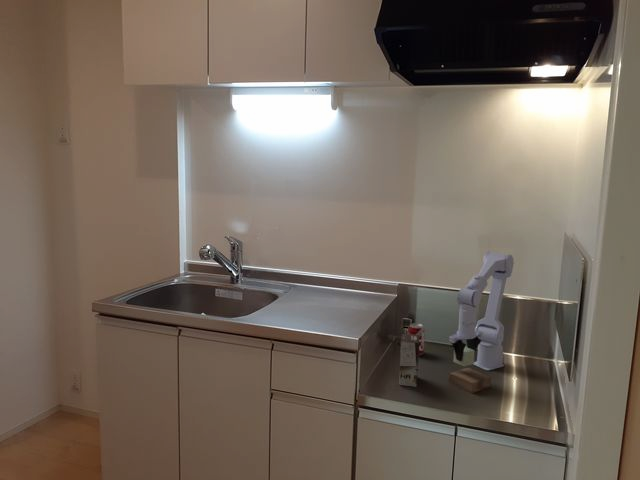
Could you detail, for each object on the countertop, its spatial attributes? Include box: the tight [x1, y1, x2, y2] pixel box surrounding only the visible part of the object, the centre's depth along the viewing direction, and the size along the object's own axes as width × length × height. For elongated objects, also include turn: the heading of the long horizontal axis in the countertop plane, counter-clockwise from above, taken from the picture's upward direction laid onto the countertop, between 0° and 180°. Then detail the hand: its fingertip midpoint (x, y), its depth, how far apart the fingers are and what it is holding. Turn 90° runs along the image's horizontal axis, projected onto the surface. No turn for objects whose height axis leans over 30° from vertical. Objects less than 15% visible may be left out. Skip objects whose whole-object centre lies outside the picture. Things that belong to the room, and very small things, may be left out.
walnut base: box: [448, 366, 492, 394], centre depth 186 cm, size 10×10×4 cm
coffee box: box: [398, 333, 420, 388], centre depth 188 cm, size 9×6×16 cm
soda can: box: [407, 322, 426, 356], centre depth 214 cm, size 7×7×12 cm
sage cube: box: [453, 346, 476, 367], centre depth 189 cm, size 5×5×5 cm
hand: (464, 358), depth 188 cm, fingers closed on sage cube, 5 cm apart
